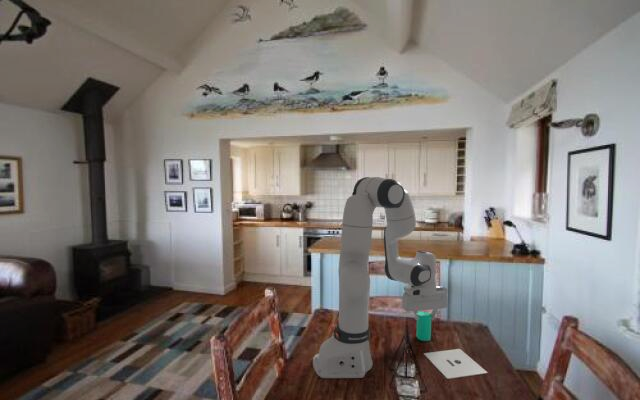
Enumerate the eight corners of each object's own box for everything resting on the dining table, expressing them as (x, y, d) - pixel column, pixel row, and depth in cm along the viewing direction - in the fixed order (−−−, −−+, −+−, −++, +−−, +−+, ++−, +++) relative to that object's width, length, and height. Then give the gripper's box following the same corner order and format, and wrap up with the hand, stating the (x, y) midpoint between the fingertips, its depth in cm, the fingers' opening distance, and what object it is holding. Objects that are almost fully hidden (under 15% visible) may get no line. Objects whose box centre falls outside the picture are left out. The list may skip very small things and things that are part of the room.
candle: (431, 341, 134) (432, 314, 134) (417, 340, 135) (418, 313, 135) (429, 334, 140) (430, 308, 139) (415, 333, 141) (416, 307, 140)
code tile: (447, 379, 109) (447, 378, 109) (423, 354, 125) (423, 353, 125) (487, 373, 113) (487, 372, 112) (459, 349, 128) (459, 348, 128)
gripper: (442, 283, 142) (442, 313, 143) (400, 287, 138) (400, 317, 139) (451, 288, 135) (450, 319, 136) (406, 292, 132) (406, 324, 133)
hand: (424, 318), depth 138 cm, fingers open, 6 cm apart
